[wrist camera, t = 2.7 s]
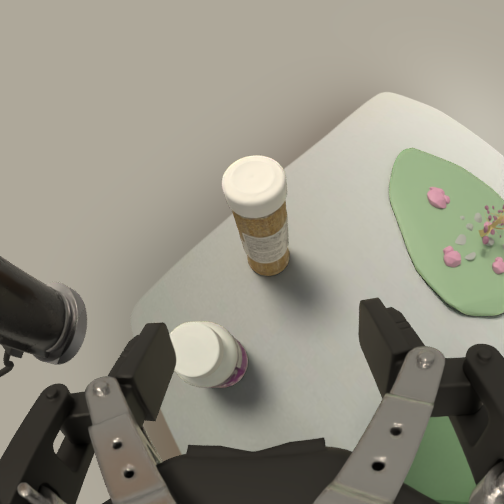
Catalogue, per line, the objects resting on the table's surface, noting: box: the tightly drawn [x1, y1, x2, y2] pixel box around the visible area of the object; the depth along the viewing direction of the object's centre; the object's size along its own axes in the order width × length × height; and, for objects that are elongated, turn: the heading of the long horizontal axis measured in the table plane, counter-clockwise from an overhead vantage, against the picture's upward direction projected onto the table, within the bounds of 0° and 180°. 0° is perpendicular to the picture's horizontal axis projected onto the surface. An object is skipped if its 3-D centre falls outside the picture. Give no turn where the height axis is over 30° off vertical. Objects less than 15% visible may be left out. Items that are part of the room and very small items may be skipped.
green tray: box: [404, 416, 476, 504], centre depth 19 cm, size 14×13×3 cm
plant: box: [389, 148, 504, 316], centre depth 27 cm, size 25×21×9 cm
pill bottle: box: [170, 321, 248, 388], centre depth 24 cm, size 5×5×10 cm
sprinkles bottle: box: [222, 156, 290, 276], centre depth 26 cm, size 5×5×14 cm
